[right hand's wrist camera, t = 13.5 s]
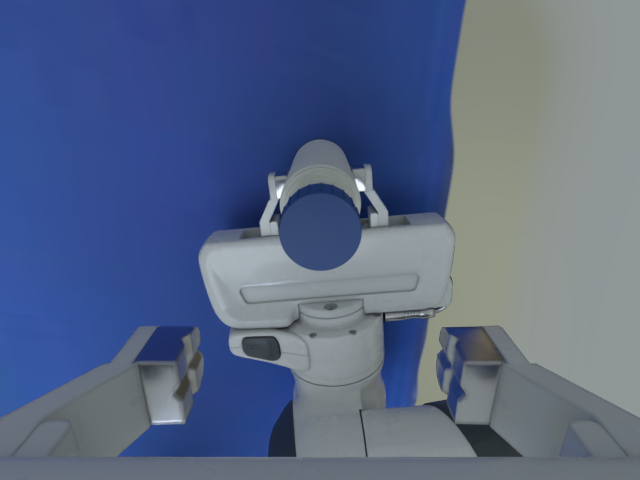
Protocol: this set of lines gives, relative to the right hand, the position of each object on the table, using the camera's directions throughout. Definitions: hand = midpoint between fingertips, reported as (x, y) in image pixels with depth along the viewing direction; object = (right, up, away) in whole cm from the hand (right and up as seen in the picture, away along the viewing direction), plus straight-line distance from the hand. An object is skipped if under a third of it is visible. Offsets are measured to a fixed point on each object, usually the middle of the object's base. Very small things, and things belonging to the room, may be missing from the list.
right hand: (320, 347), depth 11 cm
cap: (0, +3, +9) cm, 9 cm away
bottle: (0, +9, +25) cm, 26 cm away
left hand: (0, +8, +19) cm, 21 cm away
